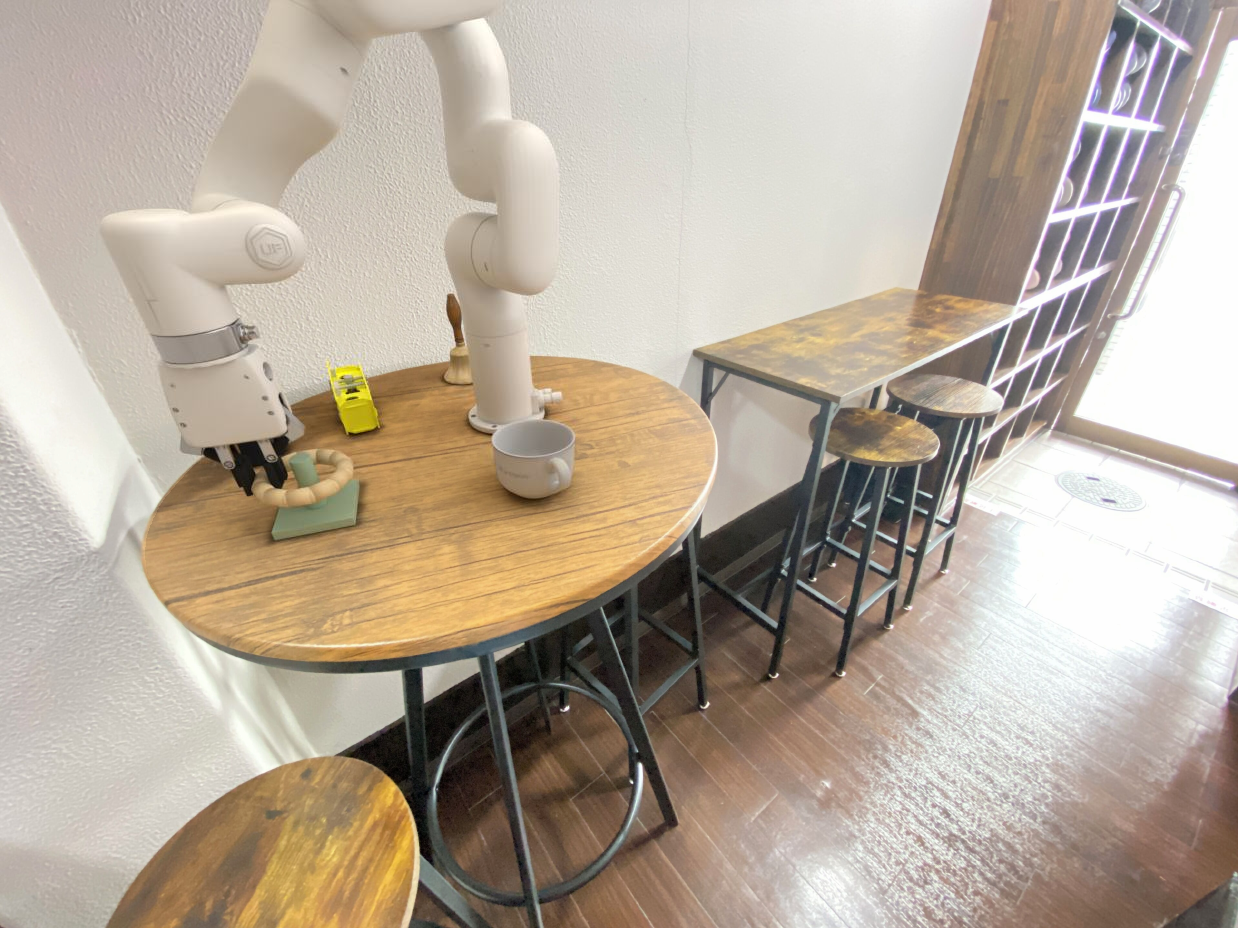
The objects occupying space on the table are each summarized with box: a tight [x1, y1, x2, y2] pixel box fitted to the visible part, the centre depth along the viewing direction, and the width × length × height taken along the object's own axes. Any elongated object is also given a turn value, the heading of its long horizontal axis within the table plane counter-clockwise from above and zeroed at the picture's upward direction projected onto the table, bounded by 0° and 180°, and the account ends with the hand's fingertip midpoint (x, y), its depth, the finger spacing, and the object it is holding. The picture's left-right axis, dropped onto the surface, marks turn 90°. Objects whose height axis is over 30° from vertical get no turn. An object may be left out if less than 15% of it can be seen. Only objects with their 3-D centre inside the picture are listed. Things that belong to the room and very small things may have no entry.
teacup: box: [490, 418, 576, 500], centre depth 70 cm, size 14×11×8 cm
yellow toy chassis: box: [325, 359, 381, 436], centre depth 89 cm, size 16×6×8 cm, turn 29°
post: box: [271, 453, 360, 541], centre depth 67 cm, size 9×9×8 cm
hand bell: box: [443, 293, 473, 386], centre depth 101 cm, size 8×8×16 cm
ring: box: [251, 448, 355, 508], centre depth 66 cm, size 11×11×2 cm
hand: (266, 486), depth 65 cm, fingers closed on ring, 2 cm apart
